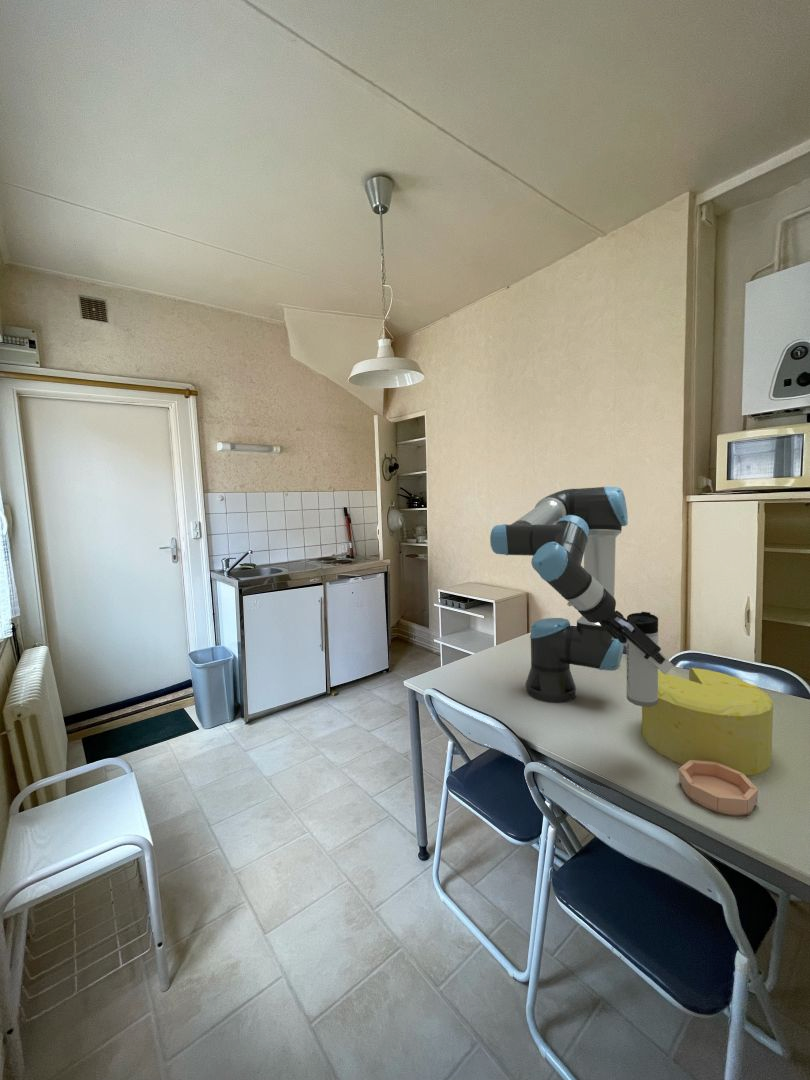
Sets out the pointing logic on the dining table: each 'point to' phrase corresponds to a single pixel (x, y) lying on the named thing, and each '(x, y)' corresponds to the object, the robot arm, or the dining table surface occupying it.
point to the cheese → (711, 721)
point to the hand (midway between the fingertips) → (656, 663)
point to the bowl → (718, 787)
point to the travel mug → (642, 664)
